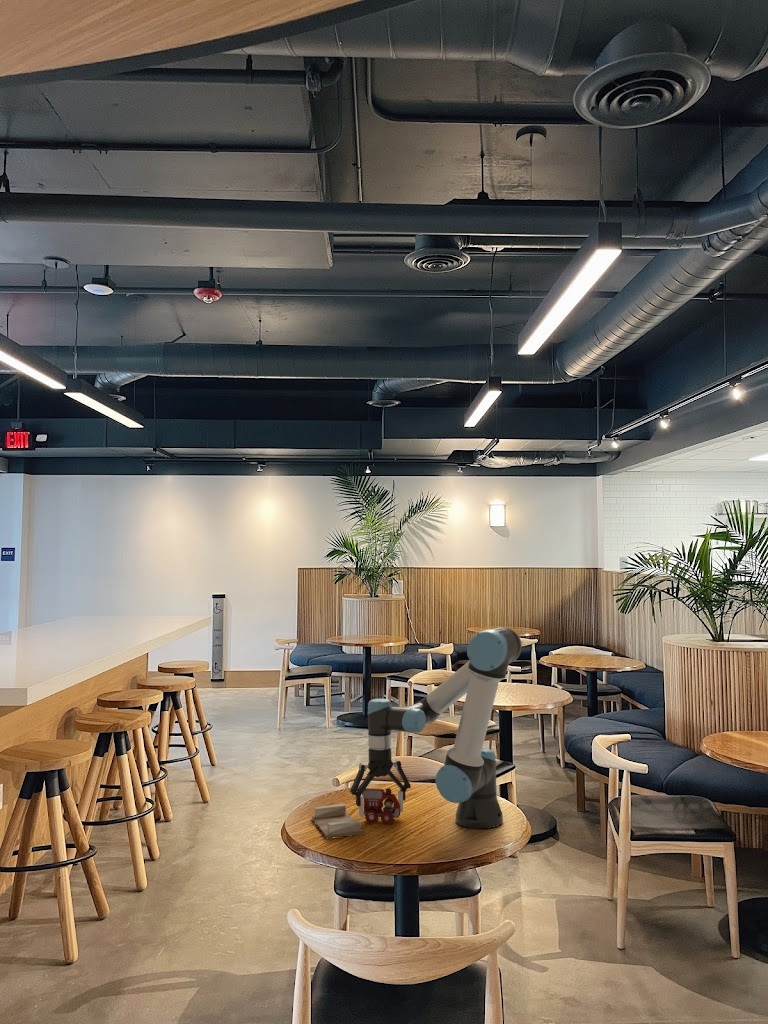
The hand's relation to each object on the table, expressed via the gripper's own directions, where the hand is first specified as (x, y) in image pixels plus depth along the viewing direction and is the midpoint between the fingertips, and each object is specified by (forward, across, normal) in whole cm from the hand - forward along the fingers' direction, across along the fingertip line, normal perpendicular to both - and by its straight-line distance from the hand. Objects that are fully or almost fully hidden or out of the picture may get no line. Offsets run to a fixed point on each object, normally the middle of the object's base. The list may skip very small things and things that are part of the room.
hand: (381, 813), depth 250 cm
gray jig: (+2, +15, 0) cm, 15 cm away
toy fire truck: (+3, 0, 0) cm, 3 cm away
